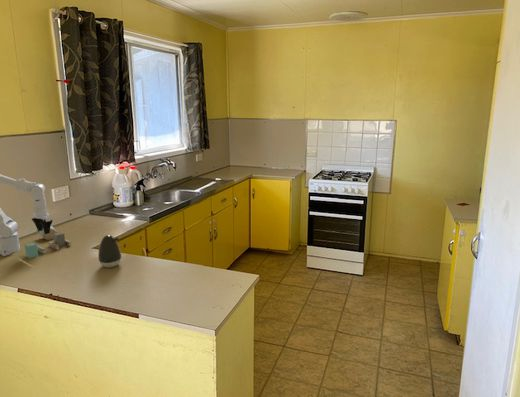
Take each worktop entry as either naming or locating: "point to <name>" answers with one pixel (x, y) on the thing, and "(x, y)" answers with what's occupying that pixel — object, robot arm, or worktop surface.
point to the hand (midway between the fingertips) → (43, 232)
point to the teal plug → (31, 250)
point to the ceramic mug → (49, 235)
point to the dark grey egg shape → (109, 252)
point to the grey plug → (59, 239)
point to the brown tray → (52, 247)
